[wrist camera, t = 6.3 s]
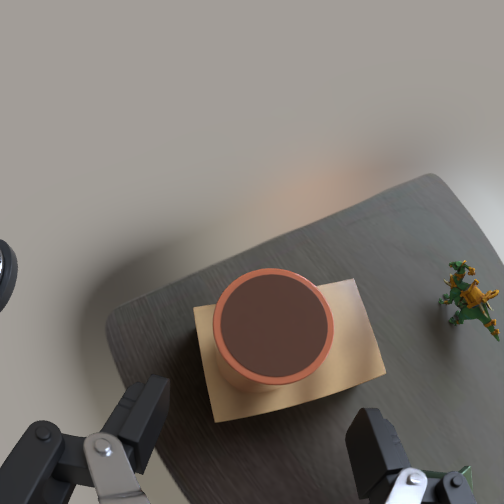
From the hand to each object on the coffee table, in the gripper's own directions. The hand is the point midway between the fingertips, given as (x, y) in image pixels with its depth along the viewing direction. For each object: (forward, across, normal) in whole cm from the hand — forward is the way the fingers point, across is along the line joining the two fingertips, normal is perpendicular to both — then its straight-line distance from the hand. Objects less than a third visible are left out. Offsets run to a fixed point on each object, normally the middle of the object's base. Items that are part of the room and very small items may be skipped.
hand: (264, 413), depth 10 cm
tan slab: (+14, -3, +6) cm, 15 cm away
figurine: (+19, -25, +1) cm, 31 cm away
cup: (+9, 0, +3) cm, 10 cm away
